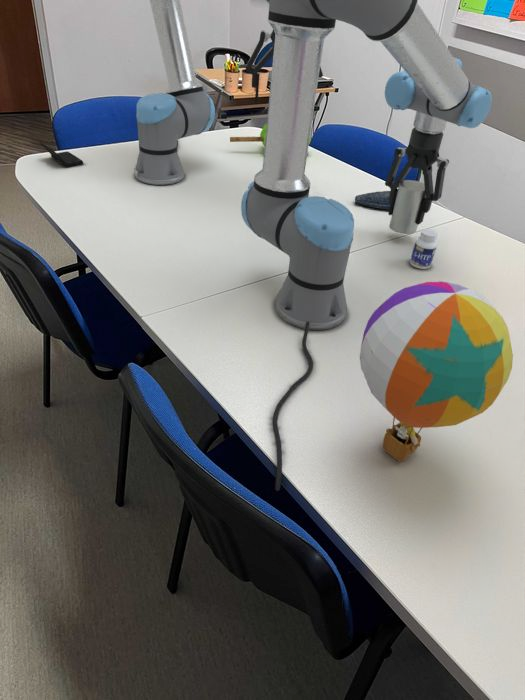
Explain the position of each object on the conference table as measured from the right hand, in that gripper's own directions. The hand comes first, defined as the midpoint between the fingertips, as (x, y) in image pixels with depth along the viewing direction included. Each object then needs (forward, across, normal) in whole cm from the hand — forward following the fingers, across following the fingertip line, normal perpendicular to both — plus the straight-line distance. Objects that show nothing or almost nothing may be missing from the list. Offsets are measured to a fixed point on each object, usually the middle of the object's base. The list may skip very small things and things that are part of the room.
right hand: (405, 217), depth 140 cm
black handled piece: (+6, +107, +29) cm, 111 cm away
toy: (+6, -32, +72) cm, 79 cm away
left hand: (-21, +41, +4) cm, 46 cm away
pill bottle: (+6, -10, +10) cm, 16 cm away
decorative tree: (+6, +66, -30) cm, 73 cm away
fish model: (+6, +12, -18) cm, 23 cm away
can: (+3, 0, 0) cm, 3 cm away
